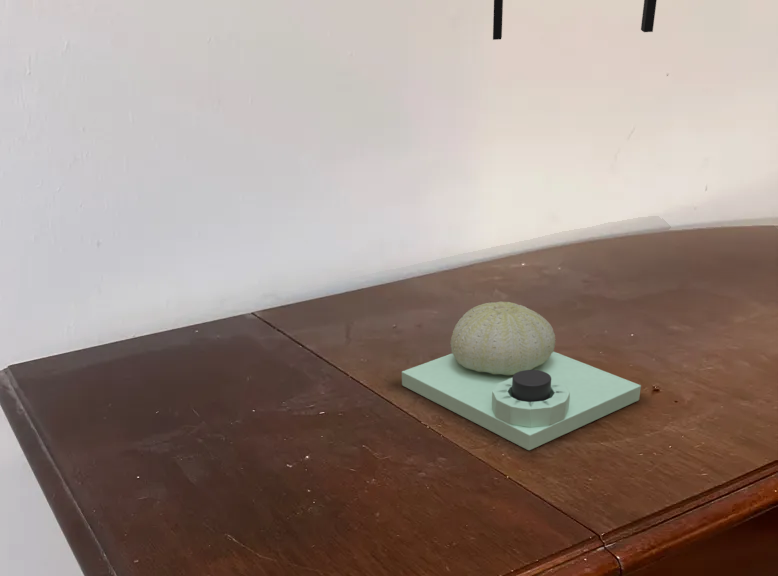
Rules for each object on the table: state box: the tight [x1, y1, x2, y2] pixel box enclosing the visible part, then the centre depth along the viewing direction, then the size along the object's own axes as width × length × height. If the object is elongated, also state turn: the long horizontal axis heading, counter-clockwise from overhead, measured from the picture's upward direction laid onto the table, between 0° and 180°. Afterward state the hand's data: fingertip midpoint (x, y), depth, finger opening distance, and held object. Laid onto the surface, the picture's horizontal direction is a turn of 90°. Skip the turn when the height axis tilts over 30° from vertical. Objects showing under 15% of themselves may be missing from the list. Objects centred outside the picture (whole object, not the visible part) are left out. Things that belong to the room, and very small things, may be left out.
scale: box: [401, 351, 642, 451], centre depth 70 cm, size 16×13×3 cm
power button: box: [512, 370, 551, 402], centre depth 64 cm, size 3×3×2 cm
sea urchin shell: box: [449, 301, 556, 376], centre depth 72 cm, size 9×8×8 cm
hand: (570, 35), depth 76 cm, fingers open, 13 cm apart
